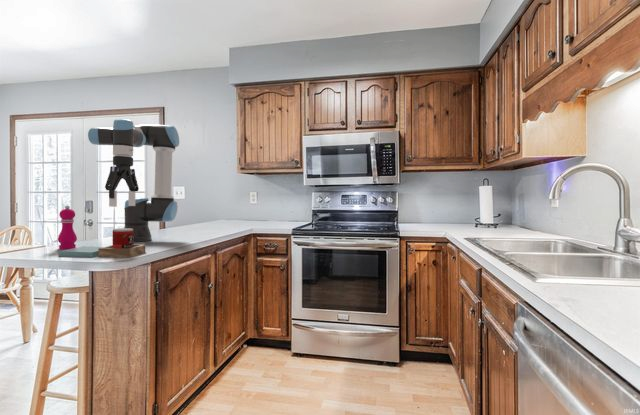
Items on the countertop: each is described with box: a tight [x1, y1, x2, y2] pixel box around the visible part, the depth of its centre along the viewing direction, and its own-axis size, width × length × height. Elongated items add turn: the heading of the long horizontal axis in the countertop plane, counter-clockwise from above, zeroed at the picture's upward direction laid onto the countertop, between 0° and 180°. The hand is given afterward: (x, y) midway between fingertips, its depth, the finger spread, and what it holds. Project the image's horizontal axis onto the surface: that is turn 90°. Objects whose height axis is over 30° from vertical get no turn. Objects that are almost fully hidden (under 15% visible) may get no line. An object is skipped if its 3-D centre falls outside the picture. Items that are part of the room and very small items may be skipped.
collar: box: [98, 243, 146, 258], centre depth 151 cm, size 13×13×4 cm
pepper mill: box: [57, 205, 78, 250], centre depth 163 cm, size 7×7×20 cm
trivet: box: [58, 245, 103, 258], centre depth 151 cm, size 14×14×2 cm
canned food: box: [112, 227, 134, 249], centre depth 151 cm, size 8×8×11 cm
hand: (122, 206), depth 151 cm, fingers open, 13 cm apart
